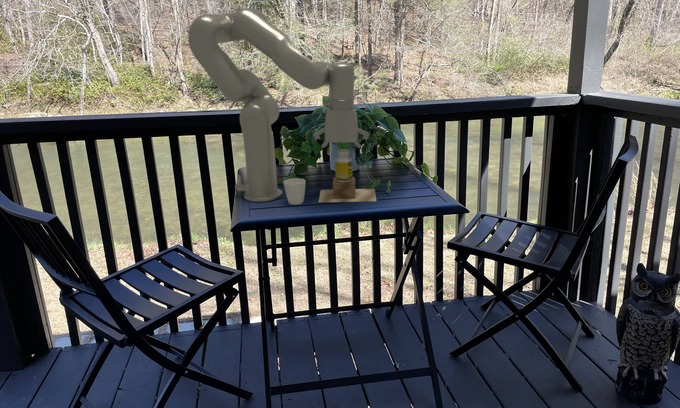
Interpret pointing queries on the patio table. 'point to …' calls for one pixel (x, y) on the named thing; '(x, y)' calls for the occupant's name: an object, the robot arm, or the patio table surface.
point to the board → (360, 196)
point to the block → (344, 189)
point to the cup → (295, 190)
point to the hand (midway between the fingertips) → (341, 159)
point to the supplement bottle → (343, 166)
